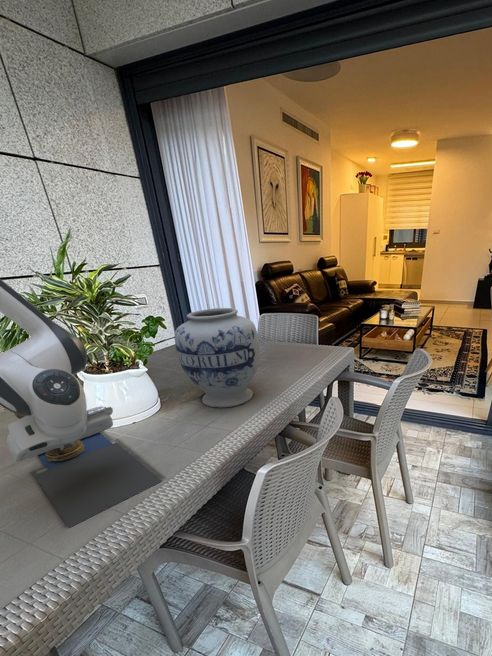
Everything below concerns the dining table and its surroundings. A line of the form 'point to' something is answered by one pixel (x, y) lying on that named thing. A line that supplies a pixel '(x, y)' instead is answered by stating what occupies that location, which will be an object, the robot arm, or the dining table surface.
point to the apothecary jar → (219, 355)
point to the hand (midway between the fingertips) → (66, 445)
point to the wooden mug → (59, 454)
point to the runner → (95, 482)
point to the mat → (89, 444)
